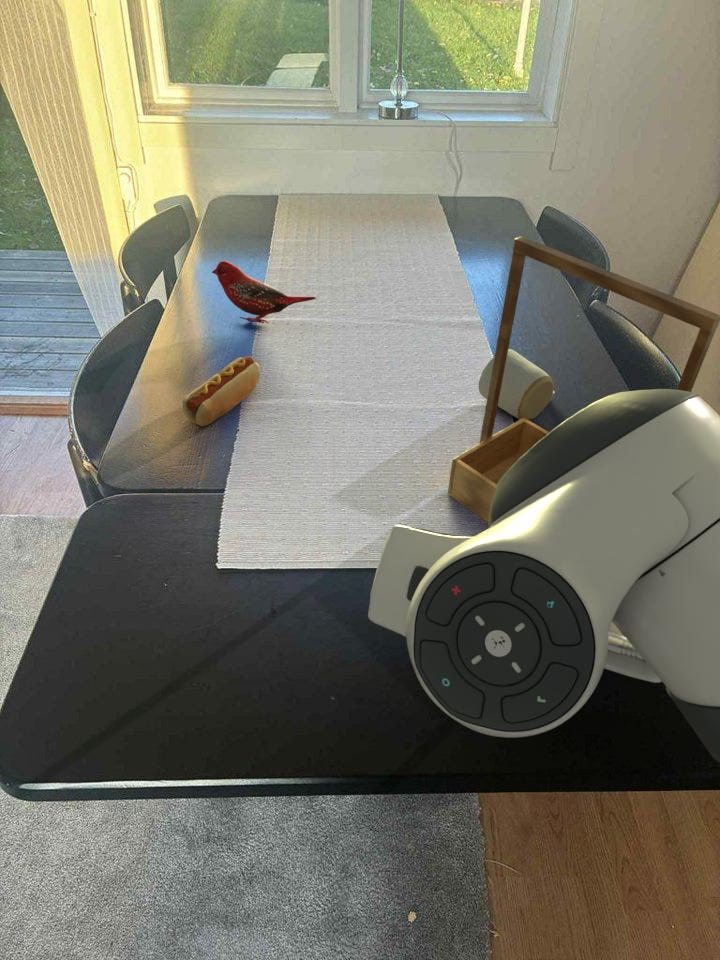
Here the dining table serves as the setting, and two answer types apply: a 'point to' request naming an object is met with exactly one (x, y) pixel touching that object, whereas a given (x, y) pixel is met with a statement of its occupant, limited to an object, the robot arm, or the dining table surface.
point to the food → (222, 391)
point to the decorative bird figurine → (252, 293)
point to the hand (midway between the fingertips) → (520, 600)
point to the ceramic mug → (520, 386)
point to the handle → (607, 281)
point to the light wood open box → (490, 465)
